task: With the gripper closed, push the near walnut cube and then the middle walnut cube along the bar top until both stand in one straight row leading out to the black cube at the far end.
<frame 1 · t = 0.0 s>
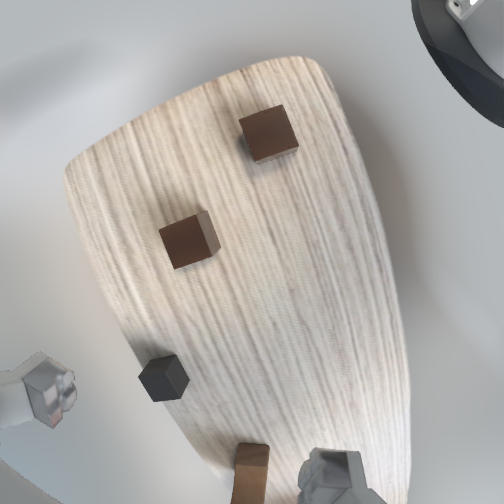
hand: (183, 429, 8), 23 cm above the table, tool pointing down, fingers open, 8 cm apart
wooden block: (253, 459, 38), on the table
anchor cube: (169, 370, 35), on the table
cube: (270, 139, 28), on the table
middle cube: (196, 235, 31), on the table
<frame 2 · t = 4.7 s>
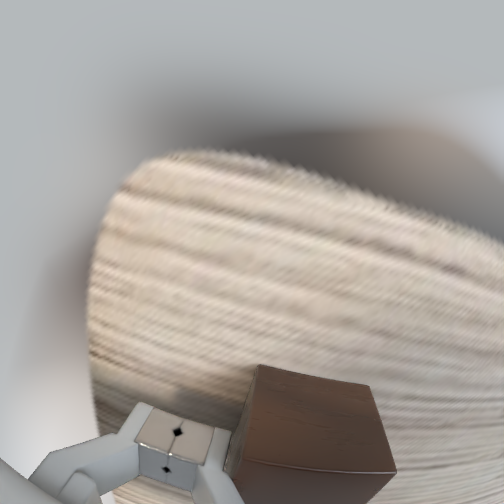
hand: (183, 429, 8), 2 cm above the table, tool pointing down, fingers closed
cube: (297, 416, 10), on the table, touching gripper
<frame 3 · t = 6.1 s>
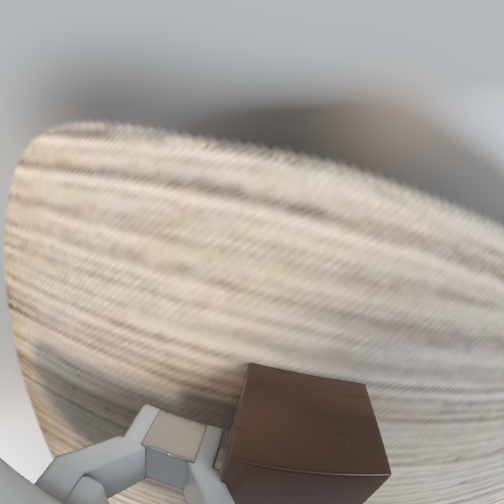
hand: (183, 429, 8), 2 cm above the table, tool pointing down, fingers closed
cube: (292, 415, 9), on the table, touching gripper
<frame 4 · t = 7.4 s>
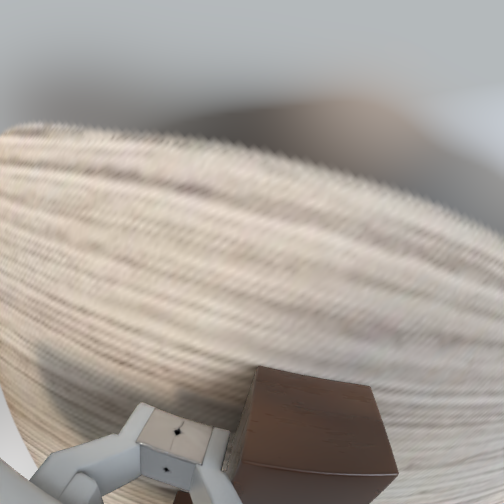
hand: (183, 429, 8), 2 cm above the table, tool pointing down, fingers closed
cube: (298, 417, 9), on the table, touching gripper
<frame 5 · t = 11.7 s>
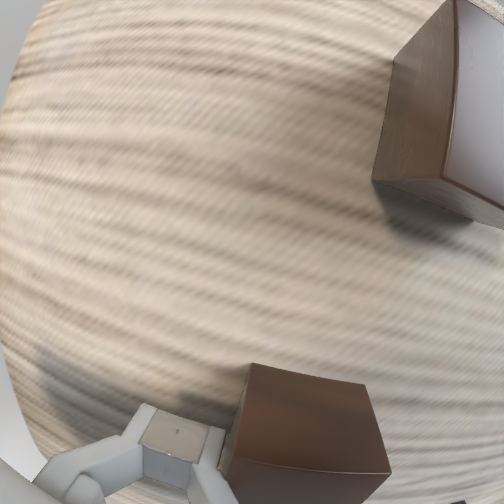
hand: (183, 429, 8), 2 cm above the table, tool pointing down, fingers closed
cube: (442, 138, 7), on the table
middle cube: (292, 415, 10), on the table, touching gripper
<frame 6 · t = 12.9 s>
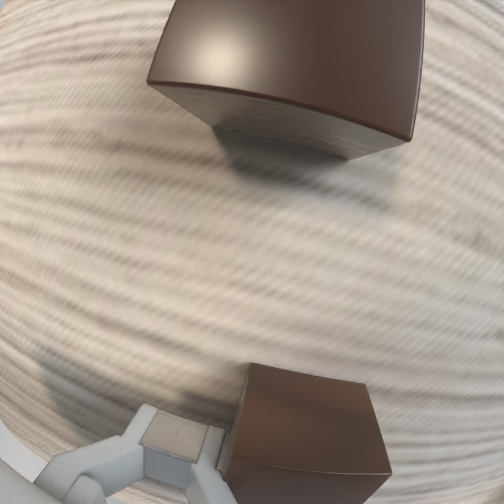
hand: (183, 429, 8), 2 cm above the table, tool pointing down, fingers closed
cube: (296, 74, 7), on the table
middle cube: (293, 415, 9), on the table, touching gripper
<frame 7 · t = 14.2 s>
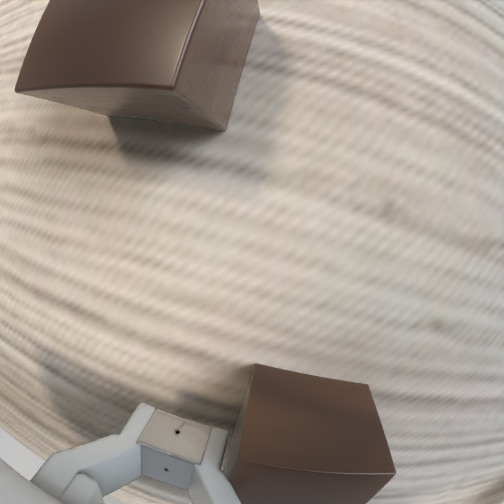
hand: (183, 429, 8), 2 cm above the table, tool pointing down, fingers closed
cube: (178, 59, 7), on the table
middle cube: (295, 416, 9), on the table, touching gripper
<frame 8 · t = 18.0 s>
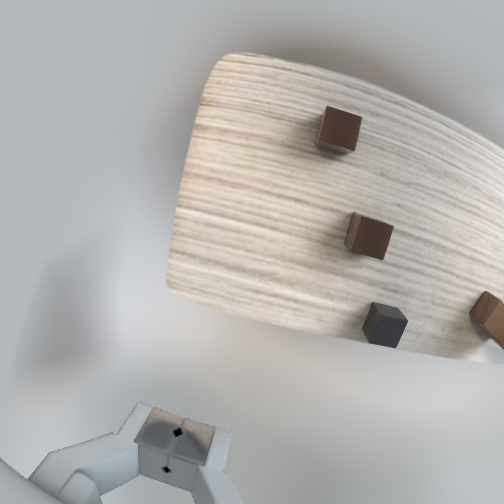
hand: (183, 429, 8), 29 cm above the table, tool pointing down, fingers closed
wooden block: (488, 314, 35), on the table
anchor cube: (380, 318, 37), on the table
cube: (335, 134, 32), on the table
middle cube: (363, 232, 34), on the table
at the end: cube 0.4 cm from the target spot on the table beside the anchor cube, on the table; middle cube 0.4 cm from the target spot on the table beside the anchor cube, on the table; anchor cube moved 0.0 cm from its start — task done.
